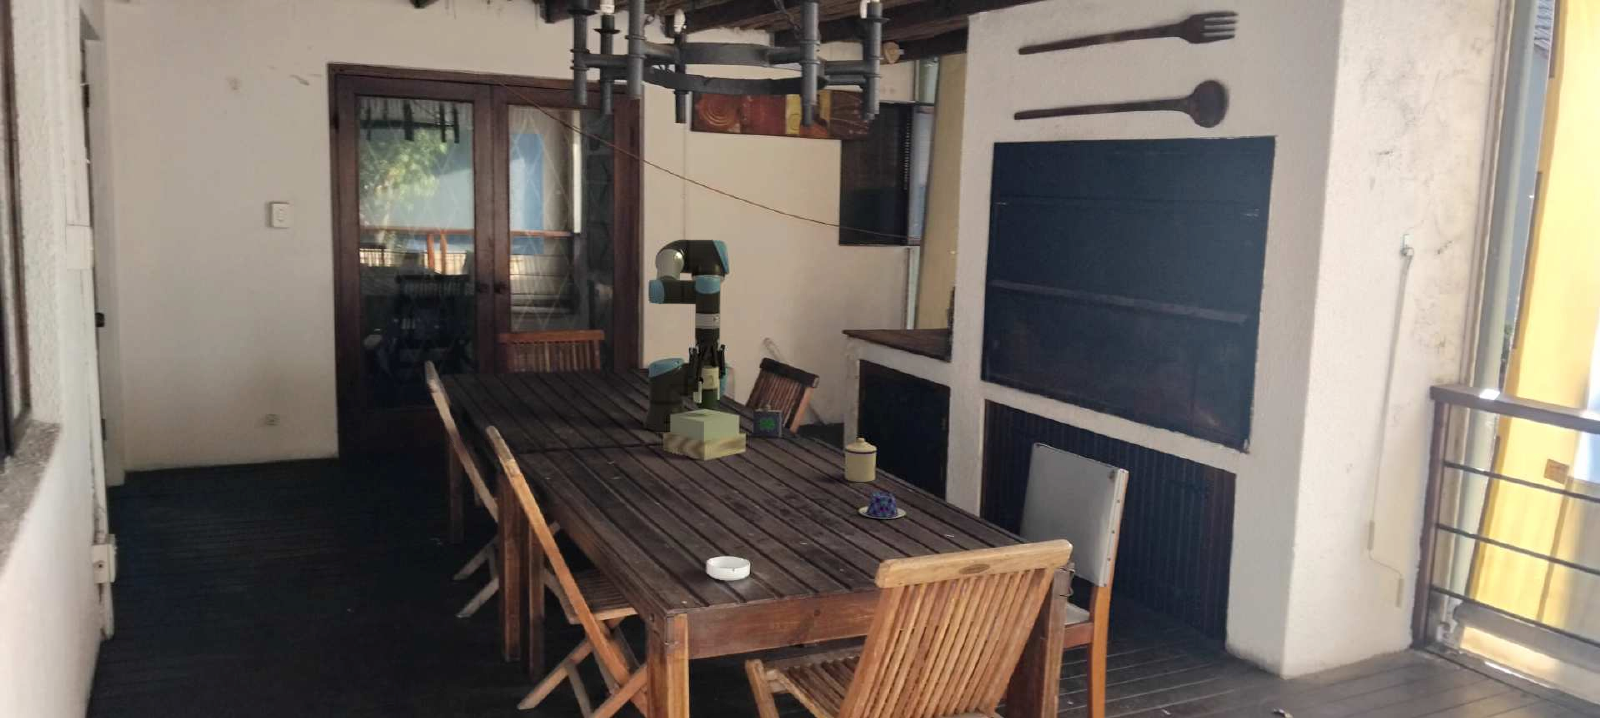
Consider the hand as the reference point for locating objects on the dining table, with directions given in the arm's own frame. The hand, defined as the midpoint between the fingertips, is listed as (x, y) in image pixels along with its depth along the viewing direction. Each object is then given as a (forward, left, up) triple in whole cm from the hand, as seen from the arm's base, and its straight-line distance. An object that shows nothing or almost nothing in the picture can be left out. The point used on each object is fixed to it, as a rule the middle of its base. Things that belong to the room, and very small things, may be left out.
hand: (706, 400), depth 367 cm
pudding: (+82, -19, -17) cm, 86 cm away
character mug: (0, 0, -3) cm, 3 cm away
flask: (-2, +30, -16) cm, 34 cm away
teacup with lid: (+54, +7, -16) cm, 57 cm away
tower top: (0, 0, -11) cm, 11 cm away
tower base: (0, 0, -17) cm, 17 cm away
